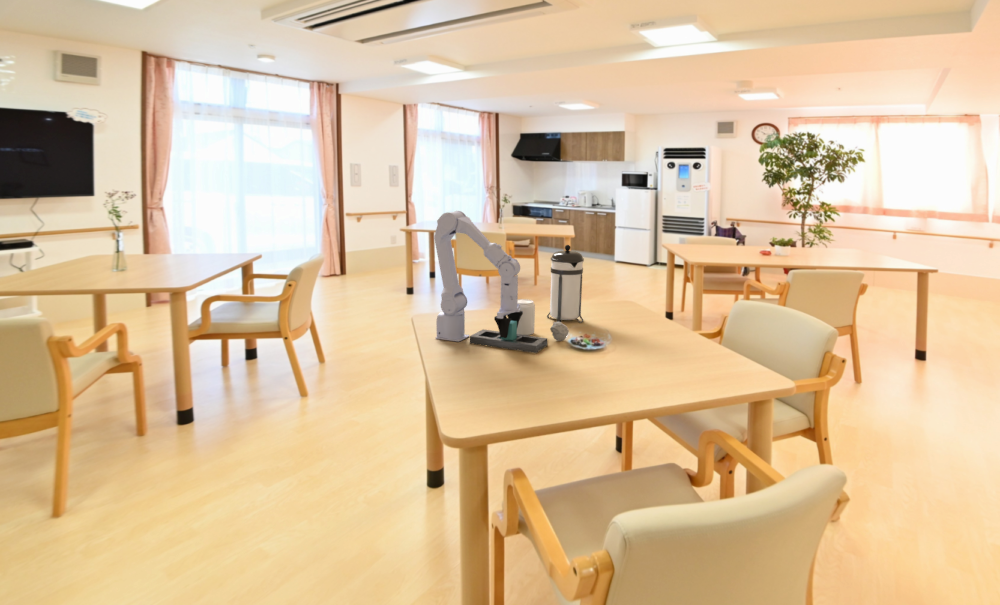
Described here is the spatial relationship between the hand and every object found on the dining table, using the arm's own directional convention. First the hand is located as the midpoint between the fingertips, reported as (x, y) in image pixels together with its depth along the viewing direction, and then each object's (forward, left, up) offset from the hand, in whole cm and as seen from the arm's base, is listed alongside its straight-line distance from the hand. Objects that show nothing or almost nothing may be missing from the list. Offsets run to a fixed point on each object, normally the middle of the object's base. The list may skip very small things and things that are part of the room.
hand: (508, 334), depth 204 cm
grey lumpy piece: (+14, +12, -4) cm, 19 cm away
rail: (0, 0, -3) cm, 3 cm away
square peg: (0, 0, -3) cm, 4 cm away
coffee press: (+5, +41, -4) cm, 41 cm away
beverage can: (-1, +15, -4) cm, 15 cm away
